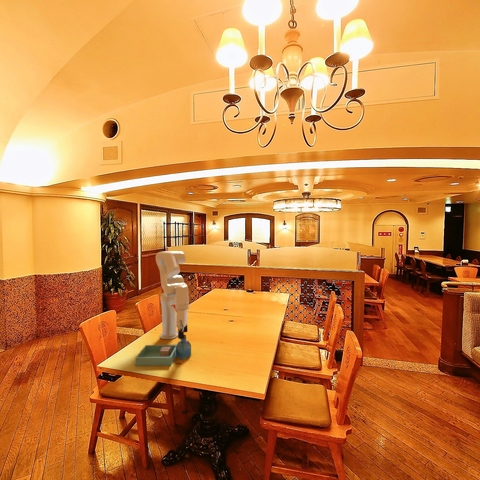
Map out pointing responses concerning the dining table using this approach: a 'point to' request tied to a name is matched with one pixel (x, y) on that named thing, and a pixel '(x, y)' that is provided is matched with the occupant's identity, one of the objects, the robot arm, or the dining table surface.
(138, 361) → the tote
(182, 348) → the perfume bottle
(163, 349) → the walnut cube
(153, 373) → the dining table surface
